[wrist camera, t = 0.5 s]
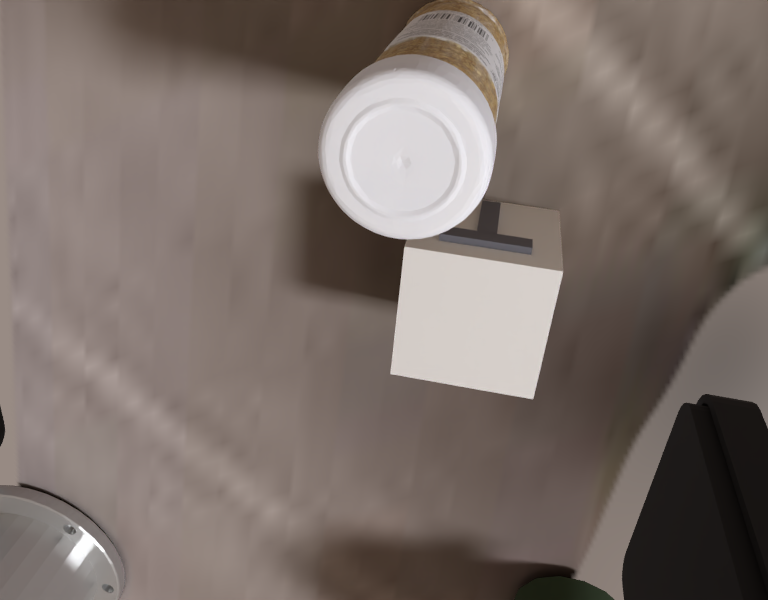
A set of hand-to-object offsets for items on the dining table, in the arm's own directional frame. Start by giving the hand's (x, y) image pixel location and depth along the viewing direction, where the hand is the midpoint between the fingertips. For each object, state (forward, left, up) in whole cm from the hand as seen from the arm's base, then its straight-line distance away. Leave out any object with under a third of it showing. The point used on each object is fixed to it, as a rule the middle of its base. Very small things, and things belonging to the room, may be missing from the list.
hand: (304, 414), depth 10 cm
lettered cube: (-6, -7, -24) cm, 26 cm away
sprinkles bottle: (0, 0, -24) cm, 24 cm away
